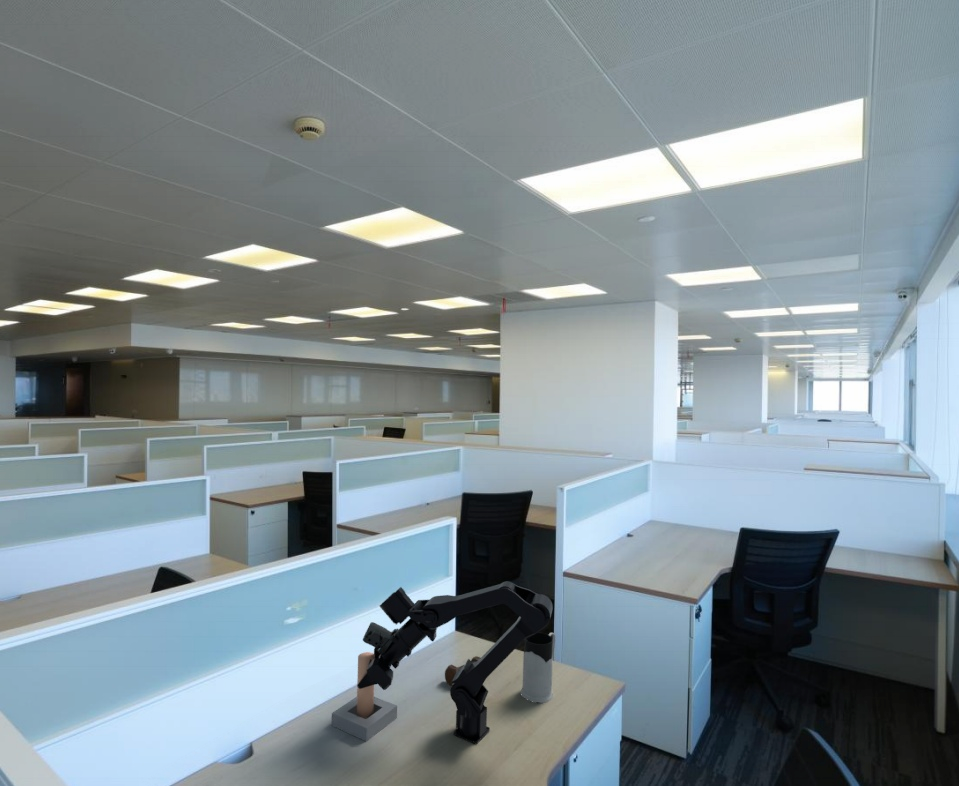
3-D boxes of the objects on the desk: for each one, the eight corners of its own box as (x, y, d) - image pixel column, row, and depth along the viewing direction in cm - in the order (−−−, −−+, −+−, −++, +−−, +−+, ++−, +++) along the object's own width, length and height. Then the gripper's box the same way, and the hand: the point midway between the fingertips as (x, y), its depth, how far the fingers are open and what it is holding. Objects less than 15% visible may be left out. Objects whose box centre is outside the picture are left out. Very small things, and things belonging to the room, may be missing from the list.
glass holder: (514, 695, 149) (516, 639, 149) (539, 673, 161) (540, 622, 161) (544, 706, 144) (545, 648, 144) (567, 683, 156) (568, 630, 156)
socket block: (396, 717, 137) (397, 705, 137) (366, 741, 128) (366, 728, 128) (362, 703, 143) (363, 692, 143) (331, 725, 133) (331, 713, 133)
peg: (376, 712, 136) (378, 655, 136) (365, 720, 132) (367, 661, 132) (364, 707, 138) (365, 650, 138) (353, 715, 134) (354, 657, 134)
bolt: (489, 675, 163) (451, 692, 152) (478, 661, 166) (441, 676, 155) (497, 661, 161) (460, 677, 150) (487, 647, 164) (449, 662, 153)
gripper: (389, 599, 144) (346, 641, 144) (377, 630, 126) (327, 678, 126) (419, 630, 145) (375, 672, 145) (411, 666, 126) (361, 713, 126)
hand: (360, 682), depth 135 cm, fingers closed on peg, 4 cm apart
